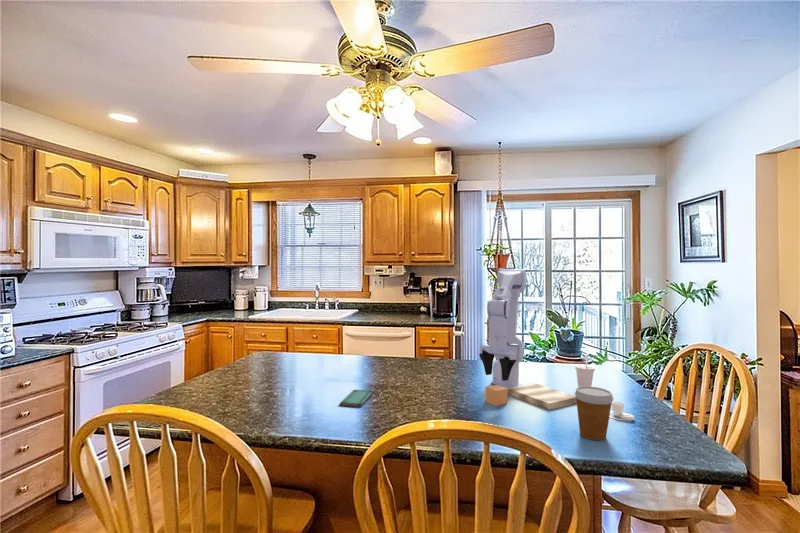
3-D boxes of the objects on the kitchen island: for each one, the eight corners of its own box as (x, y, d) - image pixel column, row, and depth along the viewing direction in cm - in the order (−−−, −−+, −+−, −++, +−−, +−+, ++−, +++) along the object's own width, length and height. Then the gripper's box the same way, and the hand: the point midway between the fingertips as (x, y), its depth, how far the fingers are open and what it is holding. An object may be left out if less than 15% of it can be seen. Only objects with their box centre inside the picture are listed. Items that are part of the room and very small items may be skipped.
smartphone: (338, 403, 129) (353, 389, 144) (338, 407, 129) (353, 392, 144) (361, 405, 127) (374, 390, 142) (361, 409, 127) (374, 394, 142)
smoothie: (596, 397, 143) (597, 357, 143) (576, 395, 144) (577, 356, 144) (591, 391, 149) (592, 353, 149) (572, 390, 150) (573, 352, 150)
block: (485, 401, 136) (485, 386, 136) (496, 399, 139) (496, 384, 139) (496, 406, 132) (496, 390, 132) (507, 403, 134) (507, 388, 134)
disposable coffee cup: (567, 428, 114) (567, 385, 114) (599, 428, 115) (600, 385, 115) (585, 443, 105) (586, 396, 105) (620, 443, 106) (621, 396, 106)
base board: (506, 393, 145) (507, 388, 145) (534, 388, 152) (534, 382, 152) (549, 409, 129) (549, 403, 129) (577, 402, 136) (577, 396, 136)
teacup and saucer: (638, 424, 120) (639, 410, 120) (609, 421, 121) (609, 407, 121) (627, 413, 129) (627, 400, 129) (600, 411, 130) (600, 398, 130)
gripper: (473, 333, 139) (472, 373, 139) (505, 340, 127) (504, 384, 127) (489, 332, 143) (488, 371, 143) (521, 339, 131) (520, 381, 131)
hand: (496, 377), depth 135 cm, fingers open, 7 cm apart
